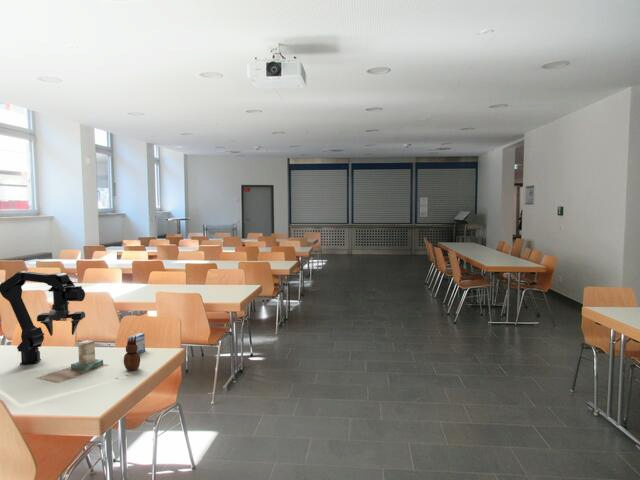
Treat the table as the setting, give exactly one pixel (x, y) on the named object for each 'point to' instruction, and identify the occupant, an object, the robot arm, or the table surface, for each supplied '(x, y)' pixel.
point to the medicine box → (139, 341)
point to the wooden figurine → (131, 355)
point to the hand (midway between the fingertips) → (62, 335)
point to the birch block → (86, 352)
